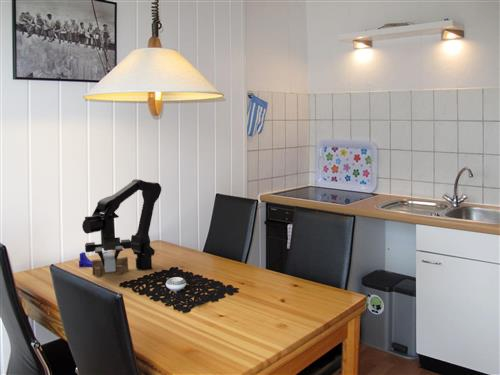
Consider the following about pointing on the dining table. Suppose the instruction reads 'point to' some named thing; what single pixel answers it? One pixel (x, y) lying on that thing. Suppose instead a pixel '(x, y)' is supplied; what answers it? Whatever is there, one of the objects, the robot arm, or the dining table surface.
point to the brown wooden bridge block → (119, 266)
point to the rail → (109, 262)
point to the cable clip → (85, 260)
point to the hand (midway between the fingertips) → (109, 265)
